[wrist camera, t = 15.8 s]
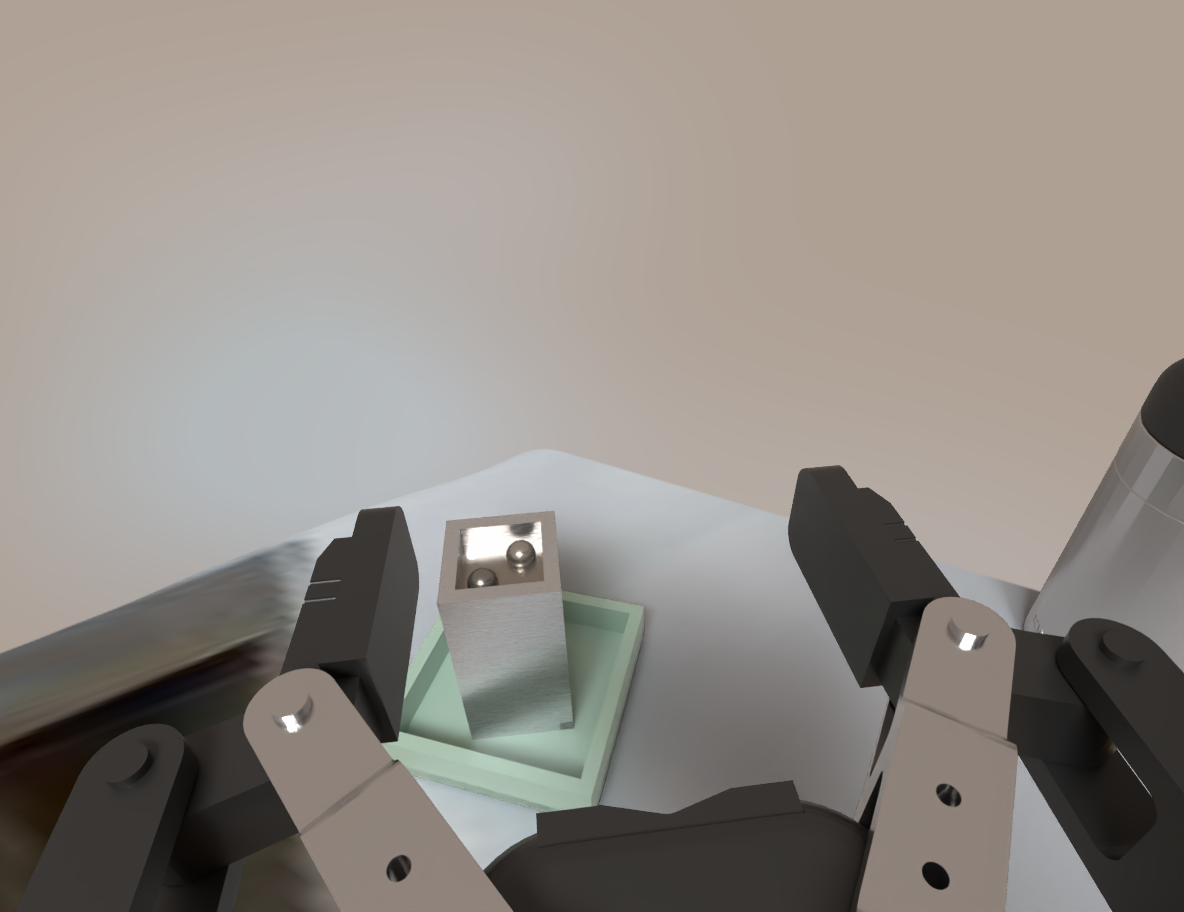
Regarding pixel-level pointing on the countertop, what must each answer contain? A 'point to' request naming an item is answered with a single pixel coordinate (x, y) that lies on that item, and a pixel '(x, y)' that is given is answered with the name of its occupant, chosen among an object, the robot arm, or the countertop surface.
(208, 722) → the countertop surface
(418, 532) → the countertop surface
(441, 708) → the bin
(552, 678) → the canister
